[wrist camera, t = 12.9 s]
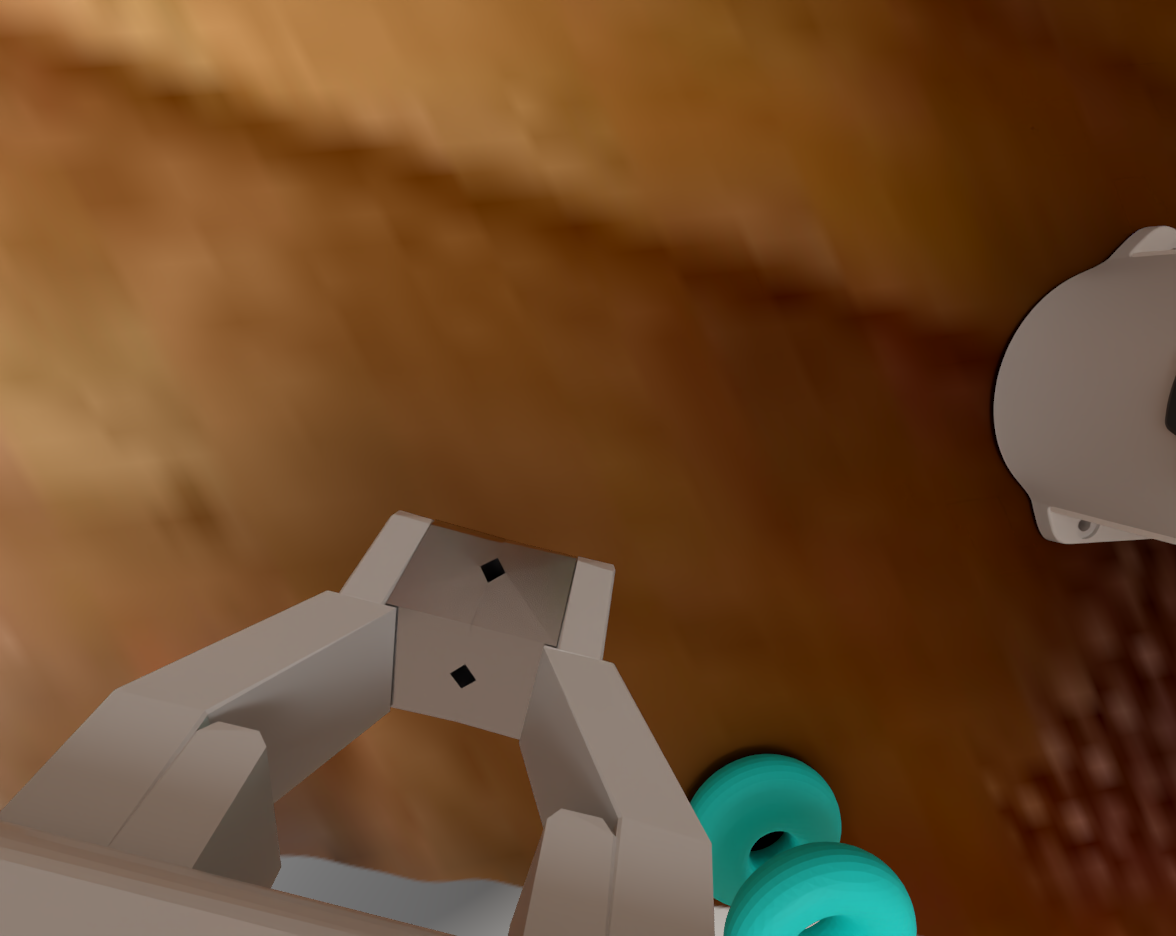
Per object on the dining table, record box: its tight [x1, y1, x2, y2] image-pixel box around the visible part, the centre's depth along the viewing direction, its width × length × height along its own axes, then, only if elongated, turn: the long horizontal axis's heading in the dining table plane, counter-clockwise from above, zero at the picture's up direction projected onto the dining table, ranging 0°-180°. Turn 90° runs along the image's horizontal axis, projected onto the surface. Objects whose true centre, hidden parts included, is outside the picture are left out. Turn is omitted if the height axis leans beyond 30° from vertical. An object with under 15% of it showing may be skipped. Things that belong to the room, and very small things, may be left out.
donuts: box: [690, 754, 917, 936], centre depth 35 cm, size 10×10×10 cm
